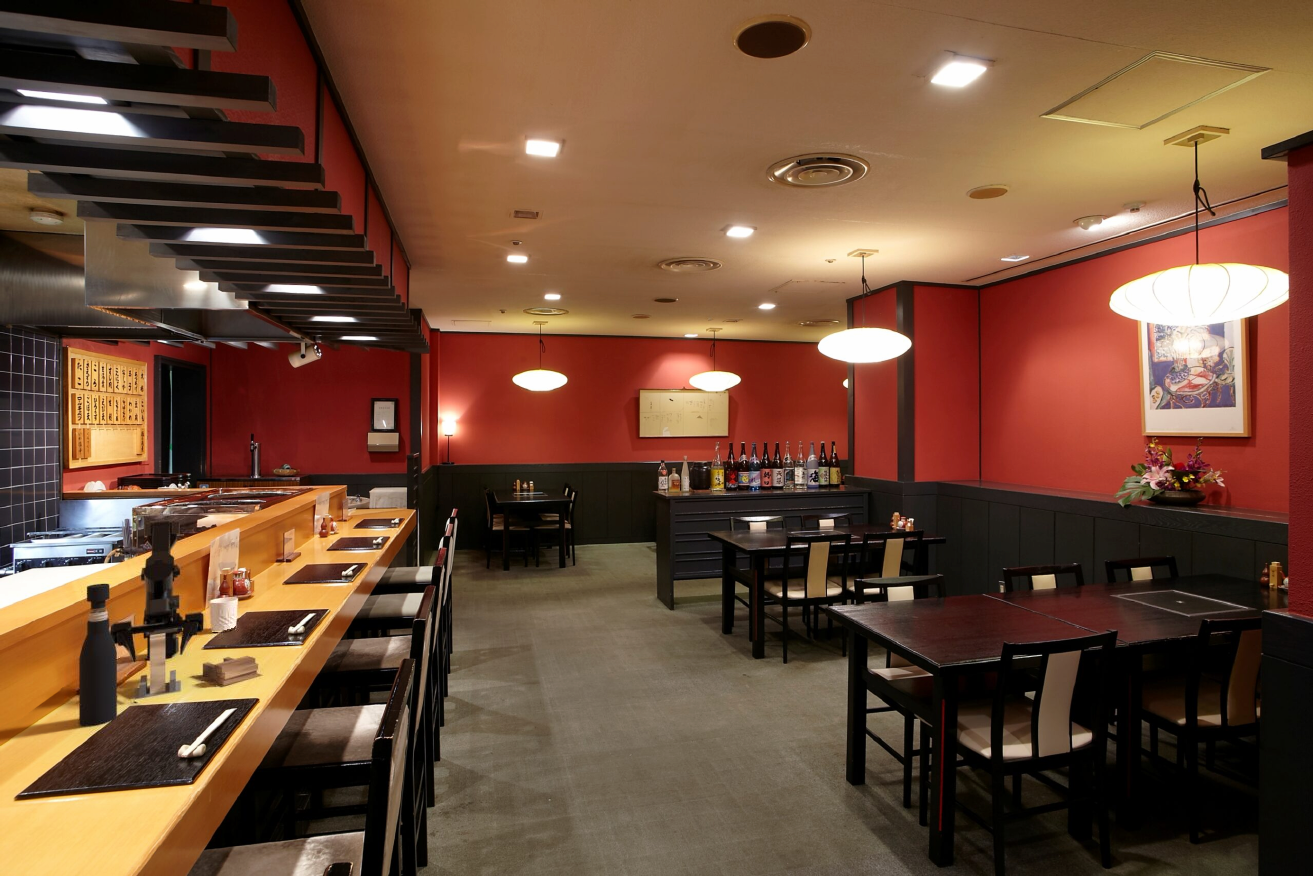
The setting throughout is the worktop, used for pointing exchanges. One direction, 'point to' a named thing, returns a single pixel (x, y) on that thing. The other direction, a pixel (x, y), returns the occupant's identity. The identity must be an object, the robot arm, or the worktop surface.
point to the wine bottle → (97, 664)
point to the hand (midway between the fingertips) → (158, 657)
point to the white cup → (223, 613)
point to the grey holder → (169, 688)
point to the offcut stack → (235, 670)
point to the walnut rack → (210, 674)
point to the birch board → (157, 663)
